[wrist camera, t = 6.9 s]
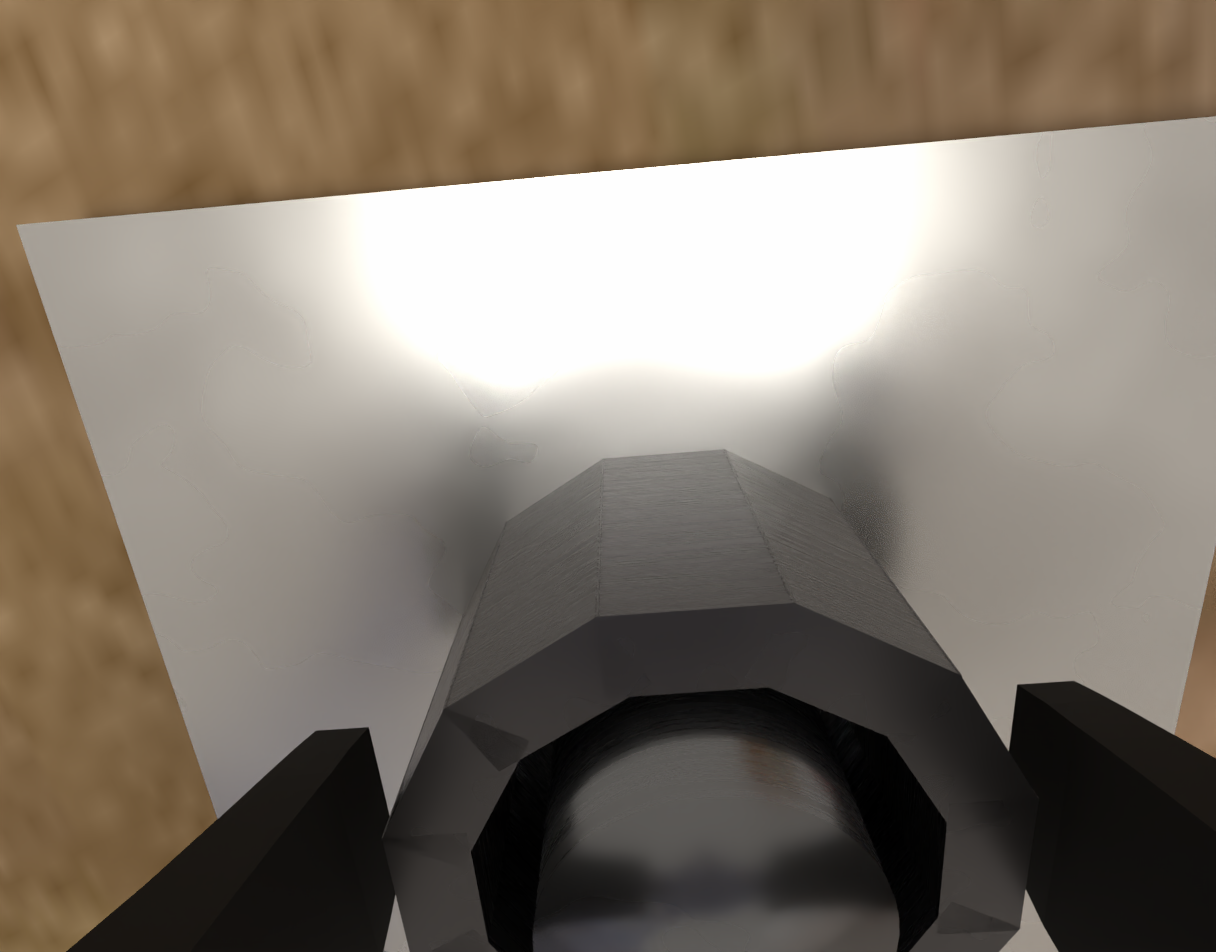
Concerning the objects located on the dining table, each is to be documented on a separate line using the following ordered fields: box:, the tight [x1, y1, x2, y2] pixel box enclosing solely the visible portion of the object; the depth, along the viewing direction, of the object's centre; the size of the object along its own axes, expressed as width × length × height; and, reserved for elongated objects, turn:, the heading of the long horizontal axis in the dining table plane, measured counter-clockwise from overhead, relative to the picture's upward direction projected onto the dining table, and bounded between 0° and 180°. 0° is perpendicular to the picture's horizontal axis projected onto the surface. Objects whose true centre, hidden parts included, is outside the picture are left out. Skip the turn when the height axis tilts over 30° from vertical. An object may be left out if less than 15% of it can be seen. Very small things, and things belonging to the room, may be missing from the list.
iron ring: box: [381, 449, 1040, 952], centre depth 9 cm, size 6×6×4 cm
